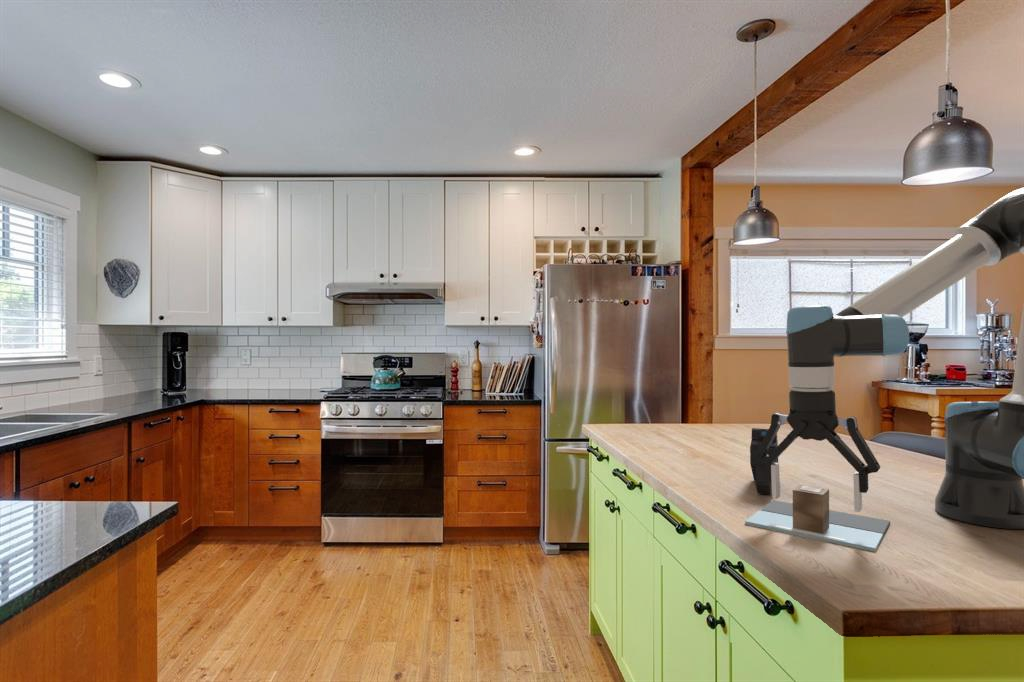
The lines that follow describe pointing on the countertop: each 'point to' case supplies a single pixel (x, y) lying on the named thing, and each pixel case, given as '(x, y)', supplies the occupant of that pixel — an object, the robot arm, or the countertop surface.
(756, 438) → the tool
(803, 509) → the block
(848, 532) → the mat
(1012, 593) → the countertop surface
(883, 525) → the mat
